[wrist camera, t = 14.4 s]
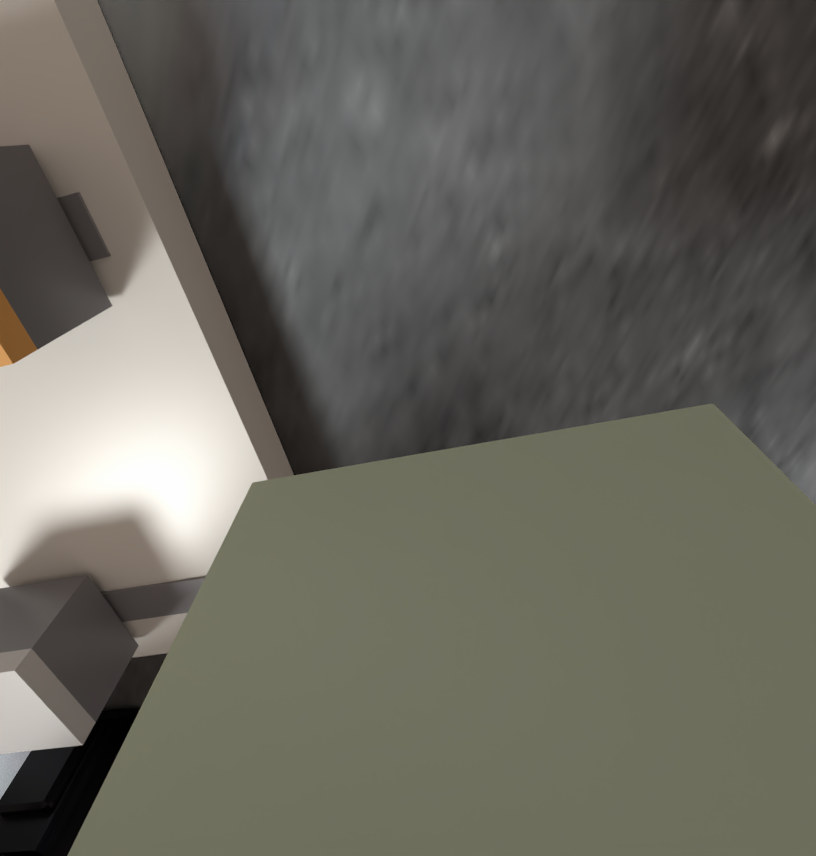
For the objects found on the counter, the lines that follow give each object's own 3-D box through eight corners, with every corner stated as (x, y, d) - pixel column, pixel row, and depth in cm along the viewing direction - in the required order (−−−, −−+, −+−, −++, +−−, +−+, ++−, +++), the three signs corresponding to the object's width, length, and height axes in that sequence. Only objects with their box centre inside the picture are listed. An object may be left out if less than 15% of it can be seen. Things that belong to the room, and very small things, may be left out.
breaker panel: (342, 592, 23) (334, 635, 21) (38, 635, 25) (6, 677, 23) (89, -17, 13) (31, -40, 11) (-377, 145, 15) (-491, 149, 13)
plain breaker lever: (138, 645, 22) (82, 744, 18) (52, 656, 22) (-18, 755, 19) (87, 574, 20) (14, 670, 16) (-6, 589, 20) (-95, 685, 17)
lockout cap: (696, 703, 11) (921, 1193, 6) (365, 736, 12) (318, 1180, 7) (713, 403, 7) (1253, 938, 3) (252, 481, 8) (5, 982, 4)
